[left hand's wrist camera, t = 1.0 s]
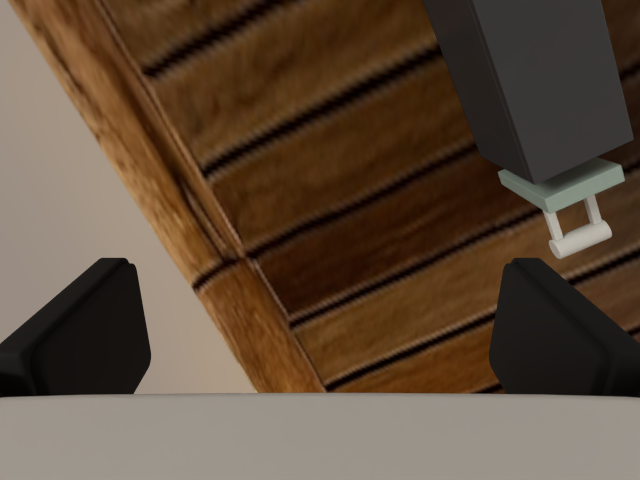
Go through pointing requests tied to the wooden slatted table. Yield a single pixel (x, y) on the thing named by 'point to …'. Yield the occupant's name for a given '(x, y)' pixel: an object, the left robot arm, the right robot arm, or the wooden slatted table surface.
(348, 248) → the wooden slatted table surface
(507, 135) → the cabinet
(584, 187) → the drawer
